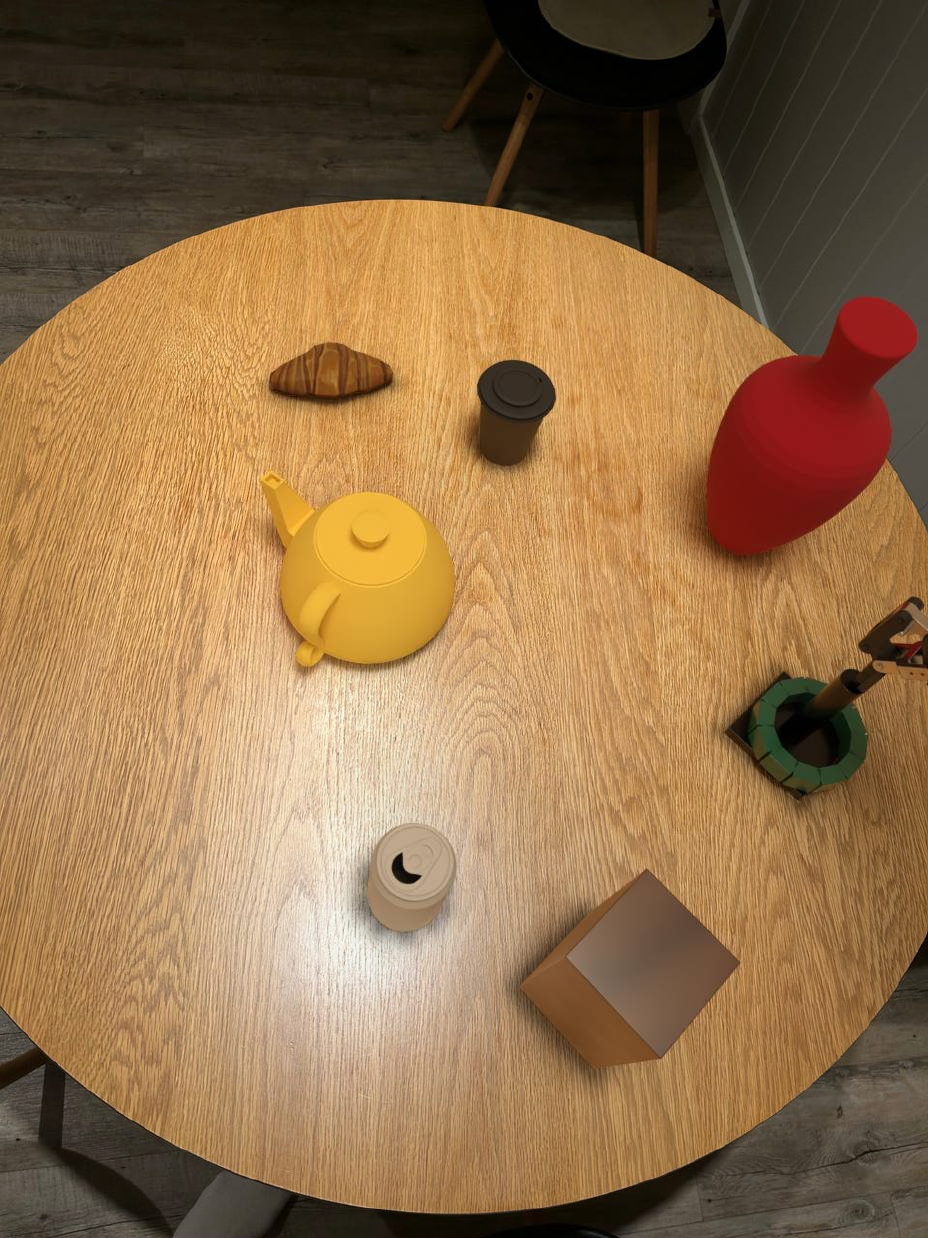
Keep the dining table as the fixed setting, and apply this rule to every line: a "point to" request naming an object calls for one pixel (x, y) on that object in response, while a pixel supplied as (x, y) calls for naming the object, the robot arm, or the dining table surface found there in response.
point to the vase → (806, 433)
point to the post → (805, 724)
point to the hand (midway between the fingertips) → (907, 720)
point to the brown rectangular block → (630, 976)
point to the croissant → (330, 373)
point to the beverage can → (410, 876)
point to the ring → (785, 764)
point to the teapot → (360, 574)
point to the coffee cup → (512, 409)
